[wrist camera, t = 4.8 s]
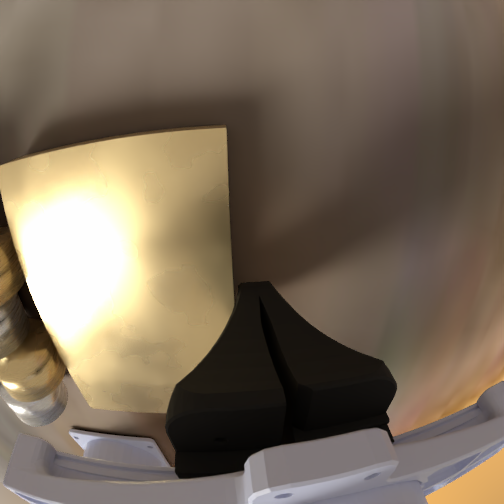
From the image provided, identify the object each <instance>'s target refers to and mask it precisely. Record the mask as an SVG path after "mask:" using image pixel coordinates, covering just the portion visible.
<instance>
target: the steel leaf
mask: <svg viewBox="0 0 504 504" xmlns="http://www.w3.org/2000/svg"><path fill="white" fill-rule="evenodd" d="M29 329H30V321H29V318H28V316H27V314H26V312H25V309H24V307H23V305H22V303H21V300H20V298H19V296H18V293H16V294H15V295H14V296H13V297H12V298H10V299H9V300H8V301H6V302H5V303H4V304H2V305H1V306H0V360H1V359H3V358H5V357H7V356H8V355H10V354H11V353H12V352H14V351H15V350H16V349H17V348H18V347H19V346H20V345H21V344H22V343H23V341H24V340H25V338H26V337H27V335H28V332H29ZM0 395H1V397H2V398H3V399H4V400H5V402H6V403H7V404H8V405H9V407H10V408H11V409H12V410H13V412H14V413H15V414H16V415H17V416H18V417H19V419H20V420H21V421H22V422H24V423H25V424H27V425H30V426H35V427H38V426H44V425H47V424H50V423H51V422H53V421H55V420H56V419H57V418H58V417H59V416H60V415H61V414H62V412H63V411H64V409H65V407H66V405H67V401H68V392H67V388H66V386H65V384H64V383H63V381H61V383H60V384H59V386H58V387H57V388H56V389H55V390H54V391H53V392H52V393H51V394H49V395H48V396H46V397H45V398H43V399H40V400H38V401H34V402H21V401H18V400H16V399H14V398H13V397H11V396H10V394H9V393H8V392H7V391H6V389H5V388H4V386H3V385H2V384H1V382H0Z"/></svg>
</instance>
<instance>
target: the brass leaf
mask: <svg viewBox="0 0 504 504" xmlns="http://www.w3.org/2000/svg"><path fill="white" fill-rule="evenodd" d="M0 191H1V196H2V200H3V205H4V209H5V213H6V217H7V221H8V225H9V227H0V306H1V305H2V304H4V303H5V302H6V301H8V300H9V299H10V298H12V297H13V296H14V295H15V294H16V293H17V292H18V291H19V290H20V289H21V287H22V286H23V284H24V283H25V280H26V281H27V284H28V287H29V289H30V292H31V294H32V297H33V299H34V302H35V304H36V306H37V309H38V311H39V313H40V316H41V318H42V320H43V321H41V320H38V319H29V321H30V329H29V332H28V335H27V337H26V338H25V340H24V341H23V343H22V344H21V345H20V346H19V347H18V348H17V349H16V350H15V351H14V352H12V353H11V354H10V355H8V356H7V357H5V358H3V359H1V360H0V382H1V384H2V385H3V386H4V388H5V389H6V391H7V392H8V393H9V394H10V396H11V397H13V398H14V399H16V400H18V401H21V402H34V401H38V400H40V399H43V398H45V397H46V396H48V395H49V394H51V393H52V392H53V391H54V390H55V389H56V388H57V387H58V386H59V384H60V383H61V381H62V379H63V377H64V374H65V370H66V367H67V369H68V371H69V373H70V375H71V376H72V378H73V380H74V381H75V383H76V385H77V386H78V388H79V390H80V391H81V393H82V394H83V396H84V398H85V399H86V401H87V402H88V404H89V405H90V407H91V408H95V409H105V410H115V411H128V412H145V413H167V409H168V405H169V401H170V398H171V395H172V392H173V390H174V387H175V385H176V384H177V383H178V382H179V381H181V380H182V379H183V378H184V377H185V376H186V375H188V374H189V373H190V372H191V371H192V370H193V369H194V368H195V367H196V366H197V365H198V364H199V363H200V362H201V360H202V359H203V358H204V357H205V356H206V355H207V354H208V352H209V351H210V350H211V348H212V347H213V346H214V344H215V343H216V341H217V340H218V338H219V337H220V335H221V333H222V332H223V330H224V328H225V326H226V324H227V322H228V320H229V318H230V316H231V313H232V311H233V308H234V290H233V272H232V253H231V233H230V211H229V187H228V160H227V130H226V125H212V126H197V127H184V128H174V129H164V130H155V131H147V132H139V133H132V134H125V135H119V136H112V137H106V138H101V139H95V140H90V141H85V142H80V143H75V144H70V145H66V146H61V147H57V148H53V149H48V150H44V151H40V152H37V153H33V154H29V155H25V156H22V157H19V158H17V159H14V160H12V161H9V162H7V163H4V164H2V165H0Z"/></svg>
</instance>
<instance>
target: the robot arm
mask: <svg viewBox="0 0 504 504" xmlns="http://www.w3.org/2000/svg"><path fill="white" fill-rule="evenodd" d="M396 391H397V383H396V381H395V380H394V378H393V376H392V374H391V372H390V371H389V369H388V368H387V366H386V365H385V363H384V362H383V361H382V360H379V359H376V358H373V357H371V356H368V355H365V354H362V353H359V352H357V351H355V350H353V349H350V348H348V347H346V346H344V345H342V344H340V343H338V342H337V341H335V340H333V339H331V338H330V337H328V336H326V335H325V334H323V333H322V332H320V331H319V330H317V329H316V328H315V327H313V326H312V325H311V324H309V323H308V322H307V321H306V320H305V319H304V318H302V317H301V316H300V315H299V314H298V313H297V312H296V311H295V310H294V309H293V308H292V307H291V306H290V305H289V304H288V303H287V302H286V301H285V300H284V299H283V297H282V296H281V295H280V294H279V293H278V291H277V290H276V289H275V288H274V286H273V285H272V284H271V283H270V282H269V281H264V282H248V283H240V284H239V285H238V295H237V299H236V302H235V305H234V308H233V311H232V313H231V316H230V318H229V320H228V322H227V324H226V326H225V328H224V330H223V332H222V333H221V335H220V337H219V338H218V340H217V341H216V343H215V344H214V346H213V347H212V348H211V350H210V351H209V352H208V354H207V355H206V356H205V357H204V358H203V359H202V360H201V362H200V363H199V364H198V365H197V366H196V367H195V368H194V369H193V370H192V371H191V372H190V373H189V374H188V375H186V376H185V377H184V378H183V379H182V380H181V381H179V382H178V383H177V384H176V385H175V387H174V390H173V392H172V395H171V398H170V401H169V405H168V409H167V414H166V425H165V428H166V433H167V435H168V437H169V439H170V441H171V443H172V445H173V447H174V449H175V451H176V453H175V467H171V466H170V465H169V463H168V462H167V460H166V459H165V457H164V455H163V454H162V452H161V451H160V449H159V447H158V446H157V444H156V442H155V441H154V440H153V439H151V438H141V437H129V436H119V435H110V434H102V433H95V432H88V431H82V430H76V429H70V431H69V434H70V435H71V436H72V437H73V439H74V440H75V441H76V442H77V443H78V444H79V445H80V446H81V447H82V448H83V449H84V455H83V457H82V456H77V455H73V454H68V453H64V452H59V451H56V450H55V448H54V447H53V446H52V445H51V444H50V443H49V442H48V441H46V440H44V439H42V438H39V437H35V436H32V435H28V434H25V433H22V432H20V433H19V434H18V437H17V440H16V442H15V445H14V448H13V451H12V454H11V458H10V461H9V464H8V467H7V471H6V474H5V478H4V481H3V485H4V486H5V487H6V488H8V489H9V490H11V491H12V492H14V493H15V494H17V495H18V496H20V497H21V498H23V499H24V500H26V501H27V502H29V503H31V504H428V503H427V501H426V498H425V496H426V495H428V494H430V493H432V492H434V491H436V490H438V489H440V488H442V487H443V486H445V485H447V484H448V483H451V482H452V481H454V480H456V479H457V478H459V477H461V476H462V475H464V474H466V473H467V472H469V471H470V470H472V469H474V468H475V467H477V466H478V465H480V464H481V463H483V462H484V461H486V460H487V459H489V458H490V457H492V456H493V455H495V454H496V453H498V452H499V451H500V450H501V449H502V448H503V447H504V381H501V382H499V383H498V384H496V385H494V386H492V387H490V388H488V389H487V390H486V391H485V392H484V393H483V394H482V395H481V396H480V397H479V399H478V401H477V403H475V404H473V405H471V406H469V407H467V408H465V409H463V410H460V411H458V412H456V413H454V414H452V415H449V416H447V417H445V418H443V419H440V420H438V421H435V422H433V423H430V424H428V425H425V426H423V427H420V428H417V429H415V430H412V431H409V432H406V433H403V434H401V435H398V436H394V437H393V436H392V434H391V432H390V430H389V427H388V425H387V424H388V423H389V417H388V415H387V413H386V411H387V409H388V407H389V405H390V404H391V402H392V400H393V398H394V396H395V393H396Z"/></svg>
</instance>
